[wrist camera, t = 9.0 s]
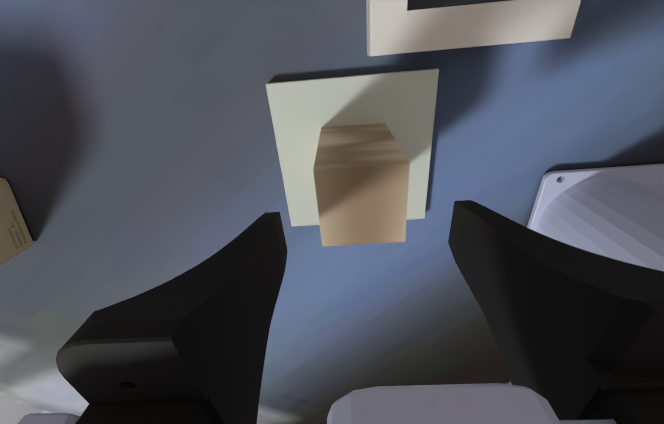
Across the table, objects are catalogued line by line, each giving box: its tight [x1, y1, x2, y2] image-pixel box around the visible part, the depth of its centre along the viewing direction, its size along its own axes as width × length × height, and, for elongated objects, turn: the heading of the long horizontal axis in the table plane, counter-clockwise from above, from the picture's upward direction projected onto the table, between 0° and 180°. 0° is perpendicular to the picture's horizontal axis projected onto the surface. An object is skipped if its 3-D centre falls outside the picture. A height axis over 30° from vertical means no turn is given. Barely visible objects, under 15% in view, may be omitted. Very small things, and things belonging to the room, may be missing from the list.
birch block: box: [313, 123, 410, 246], centre depth 16 cm, size 4×4×7 cm
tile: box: [266, 68, 439, 226], centre depth 19 cm, size 10×10×1 cm
